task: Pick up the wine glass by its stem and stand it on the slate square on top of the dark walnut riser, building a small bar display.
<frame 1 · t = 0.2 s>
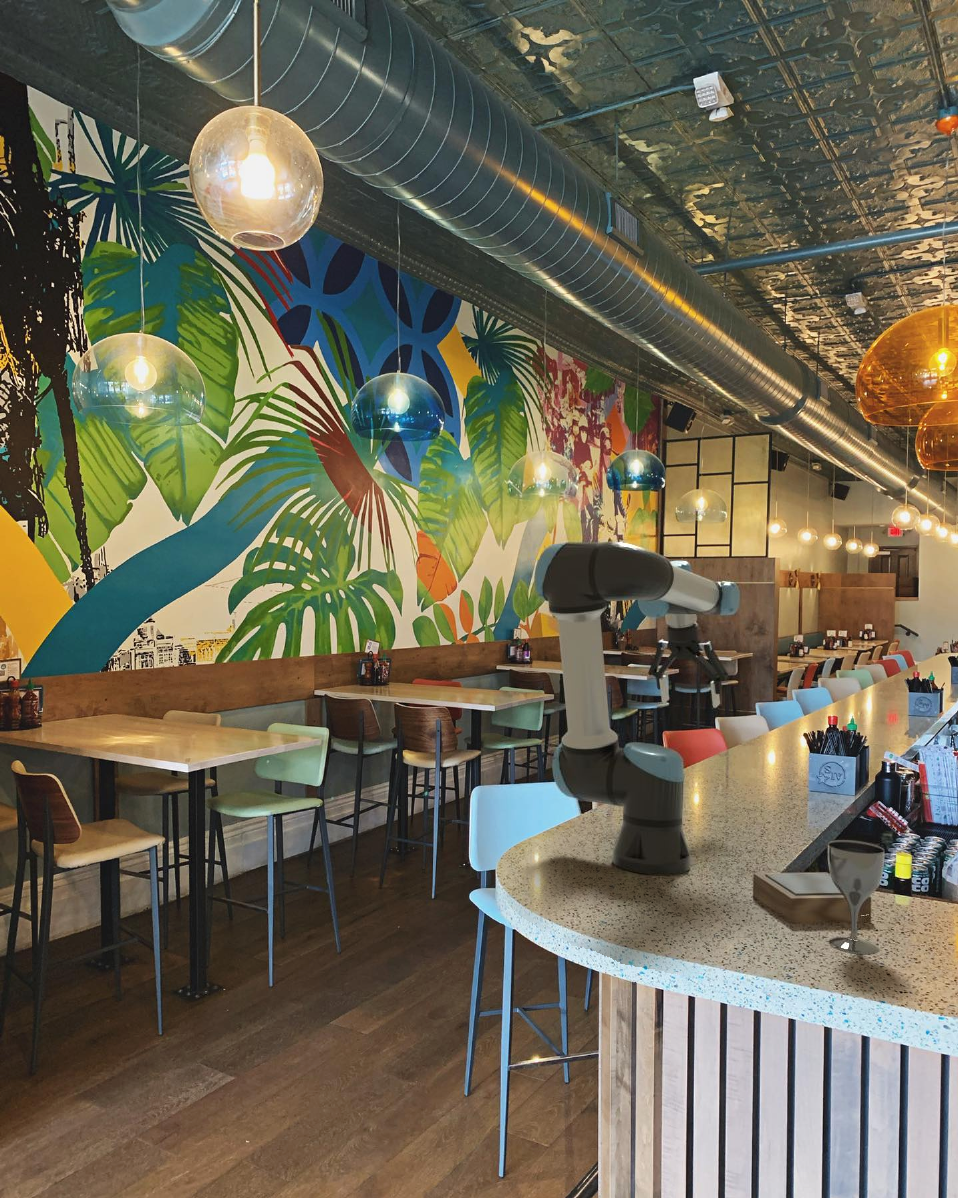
hand: (690, 703, 225), 28 cm above the countertop, tool tilted 20°, fingers open, 13 cm apart
wine glass: (853, 946, 136), on the countertop
riser: (809, 908, 153), on the countertop
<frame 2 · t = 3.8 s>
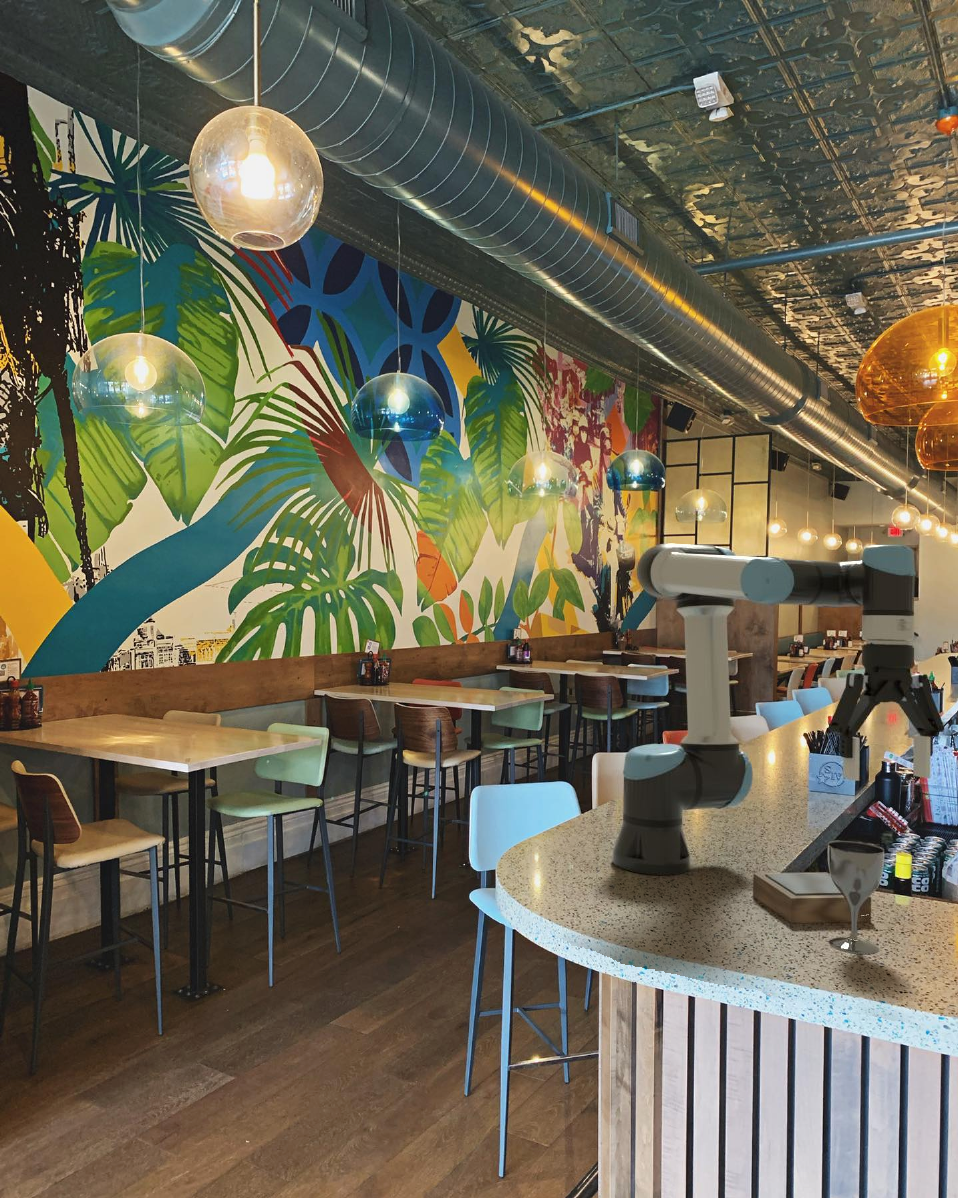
hand: (886, 778, 140), 25 cm above the countertop, tool pointing down, fingers open, 13 cm apart
nothing on the countertop moved.
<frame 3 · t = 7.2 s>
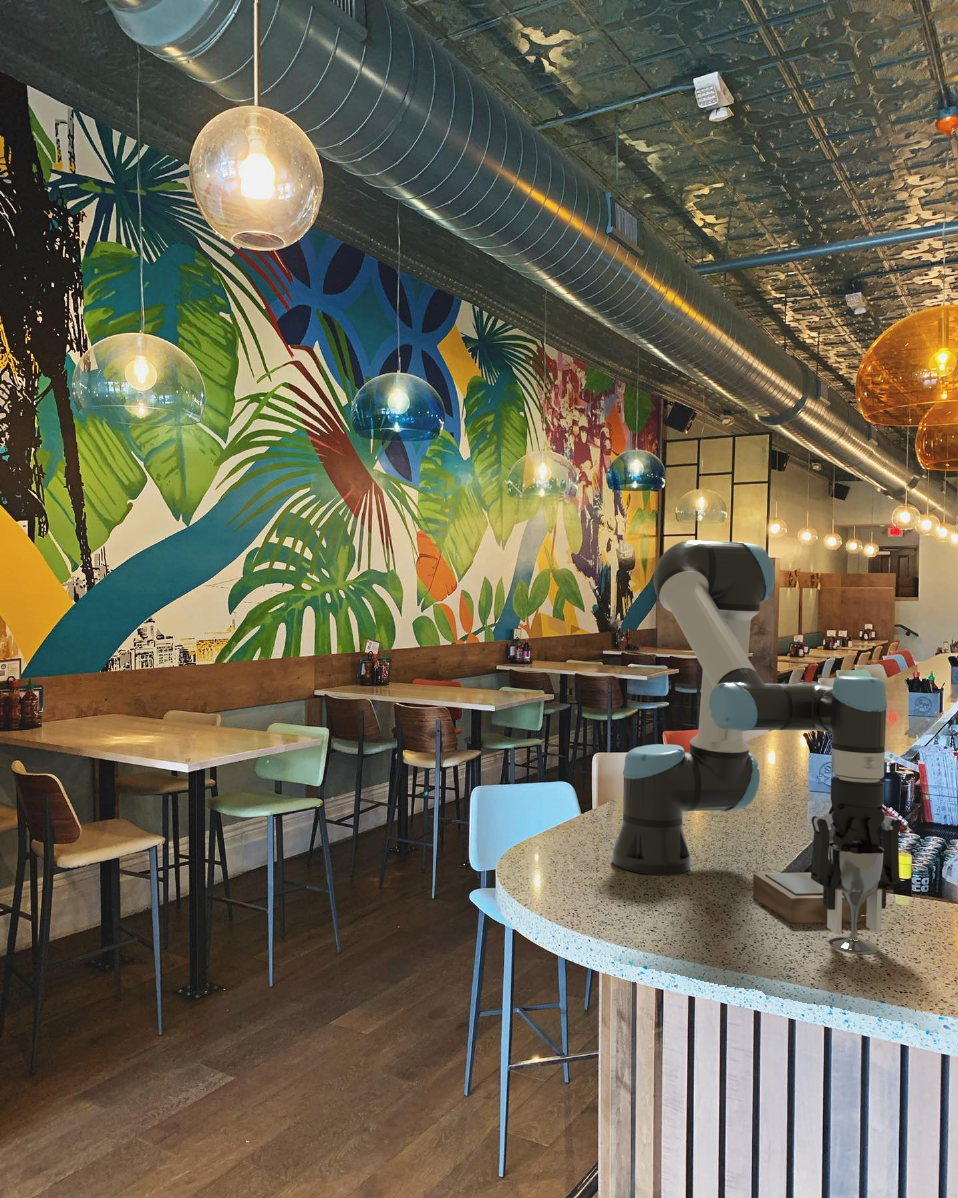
hand: (853, 929, 136), 2 cm above the countertop, tool pointing down, fingers closed on wine glass, 6 cm apart
wine glass: (853, 946, 136), on the countertop, touching gripper
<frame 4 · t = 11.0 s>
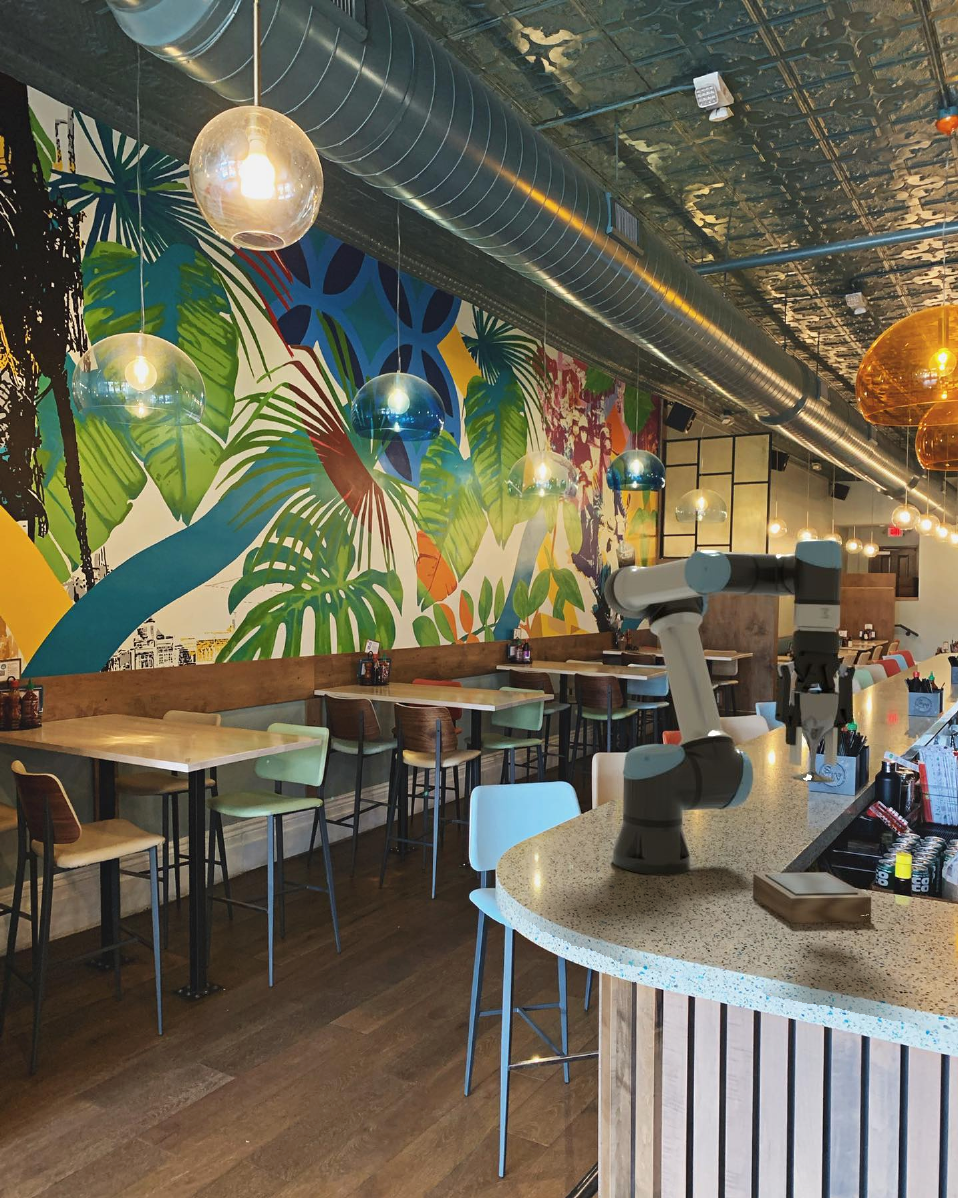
hand: (812, 764, 153), 25 cm above the countertop, tool pointing down, fingers closed on wine glass, 6 cm apart
wine glass: (812, 779, 153), point 22 cm above the countertop, touching gripper
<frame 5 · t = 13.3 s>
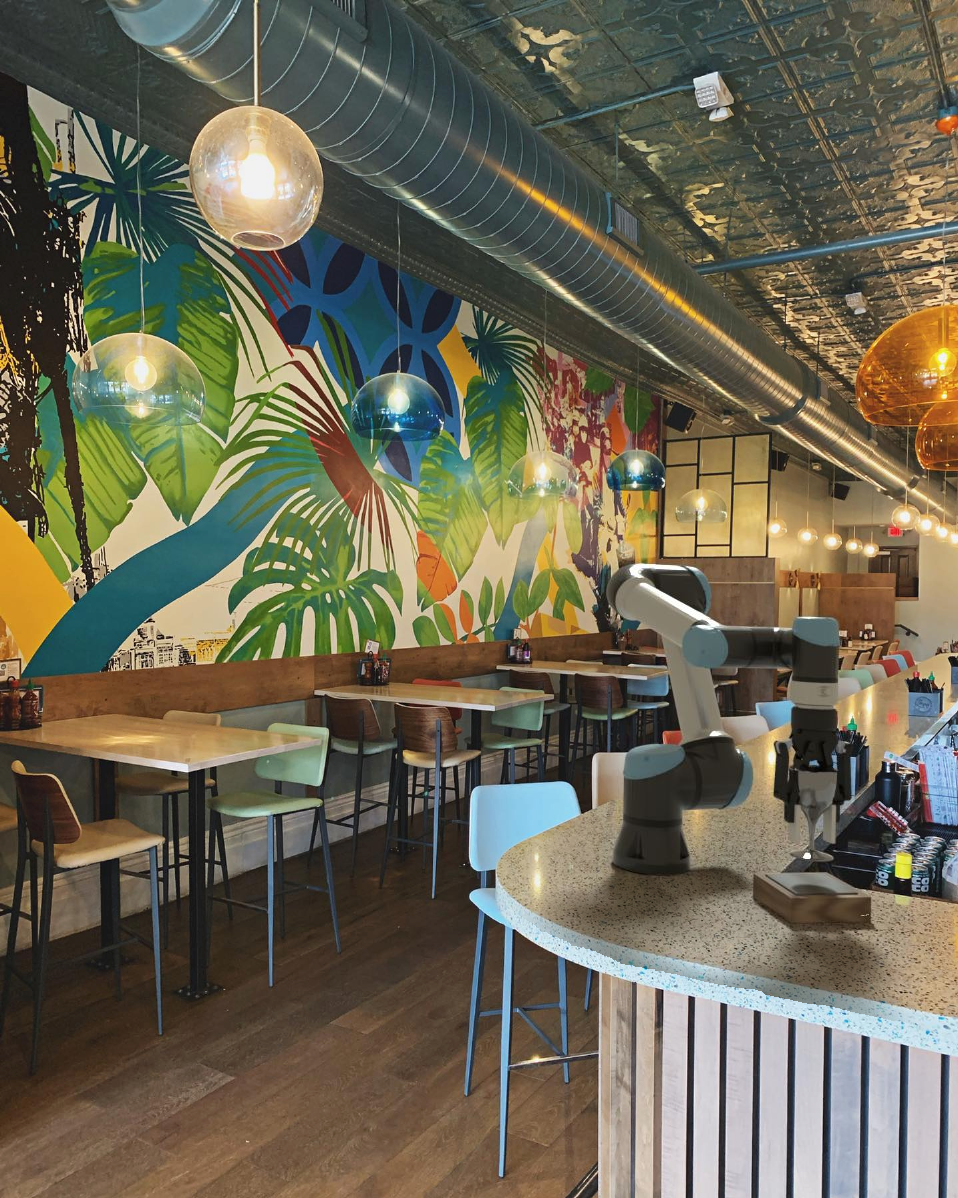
hand: (811, 841, 153), 11 cm above the countertop, tool pointing down, fingers closed on wine glass, 6 cm apart
wine glass: (811, 857, 153), point 9 cm above the countertop, touching gripper
when the fingers open (8 cm above the countertop, at t = 14.9 s): wine glass drops 1 cm, resting on riser.
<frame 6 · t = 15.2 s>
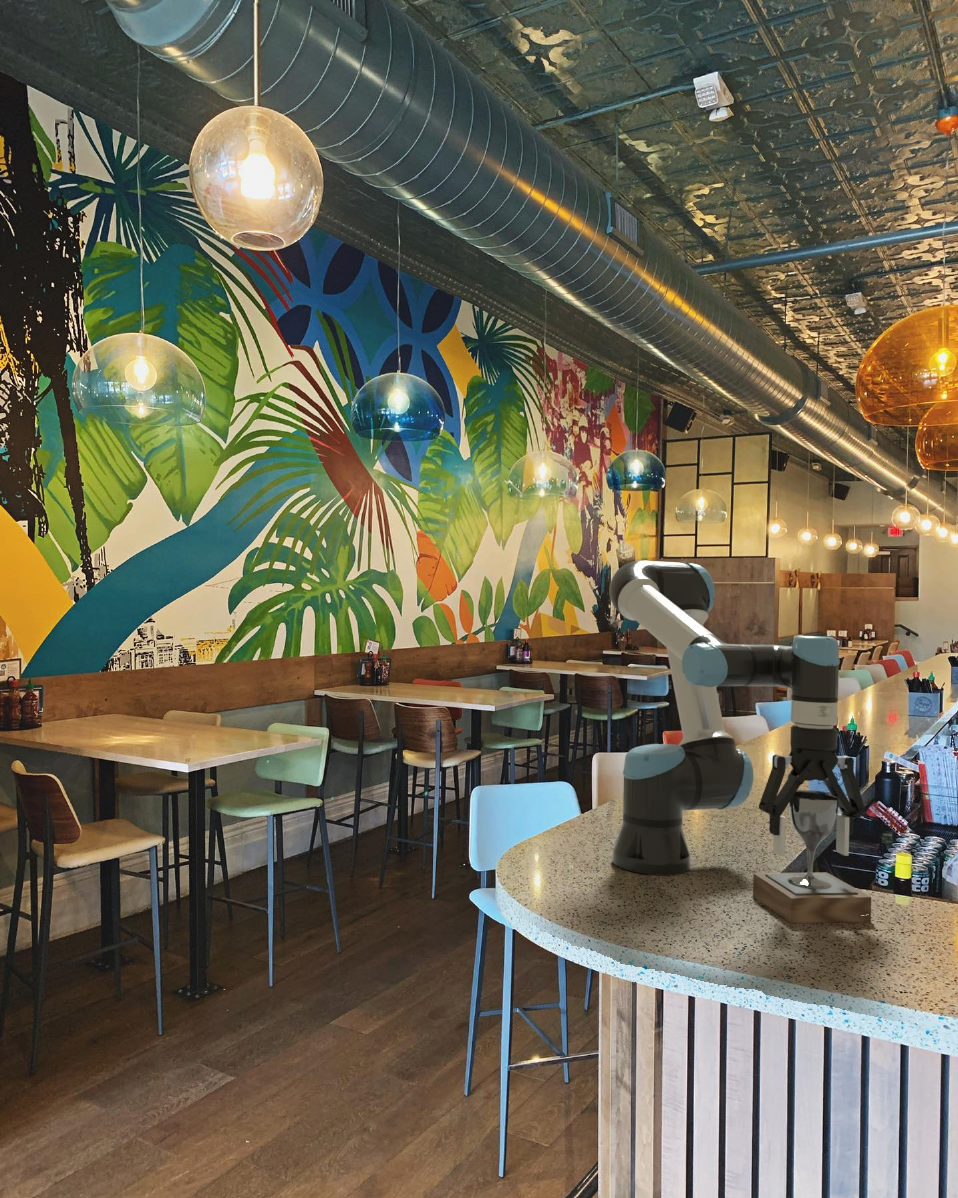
hand: (810, 854, 153), 9 cm above the countertop, tool pointing down, fingers open, 11 cm apart
wine glass: (809, 883, 153), point 4 cm above the countertop, touching riser
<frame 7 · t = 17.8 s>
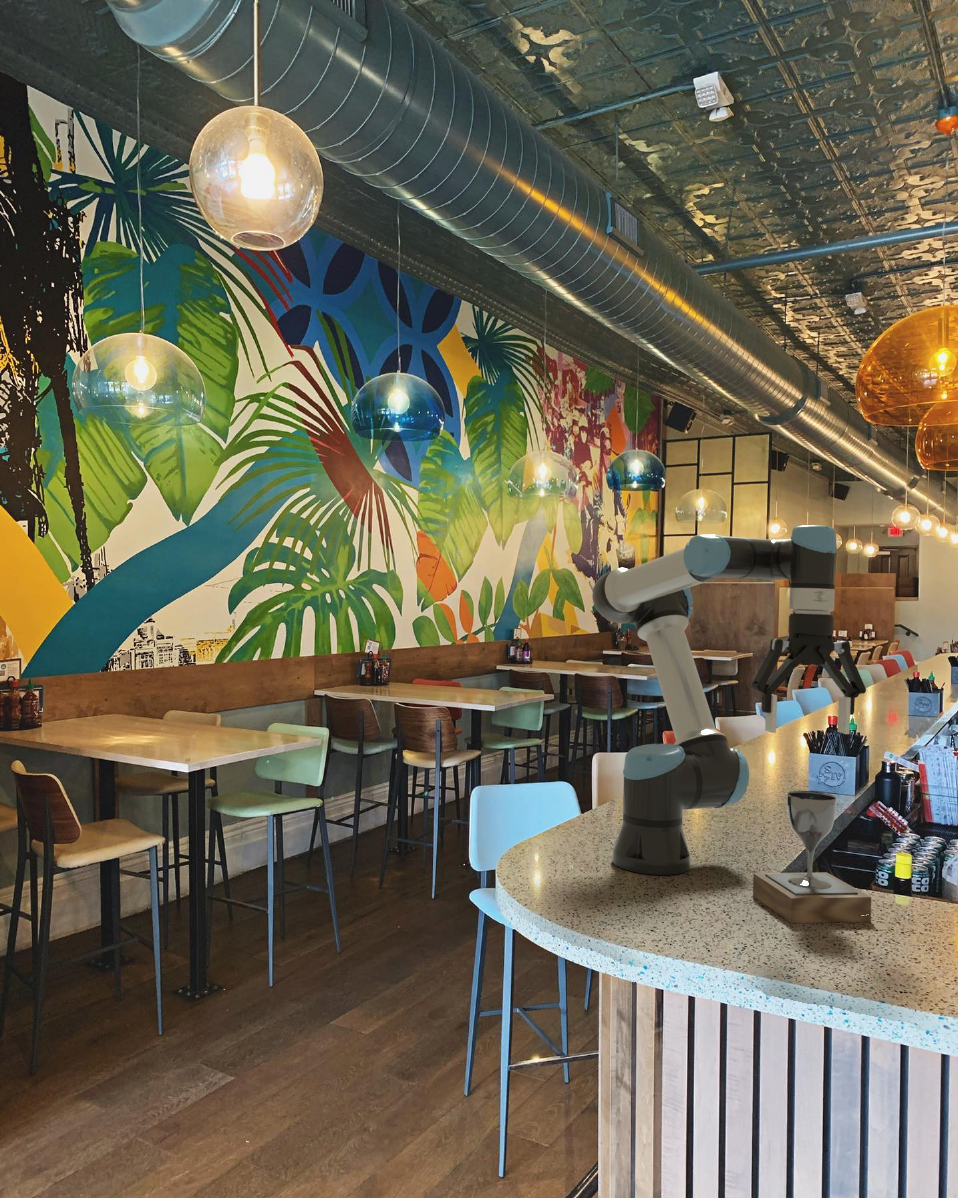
hand: (807, 732, 158), 29 cm above the countertop, tool pointing down, fingers open, 13 cm apart
nothing on the countertop moved.
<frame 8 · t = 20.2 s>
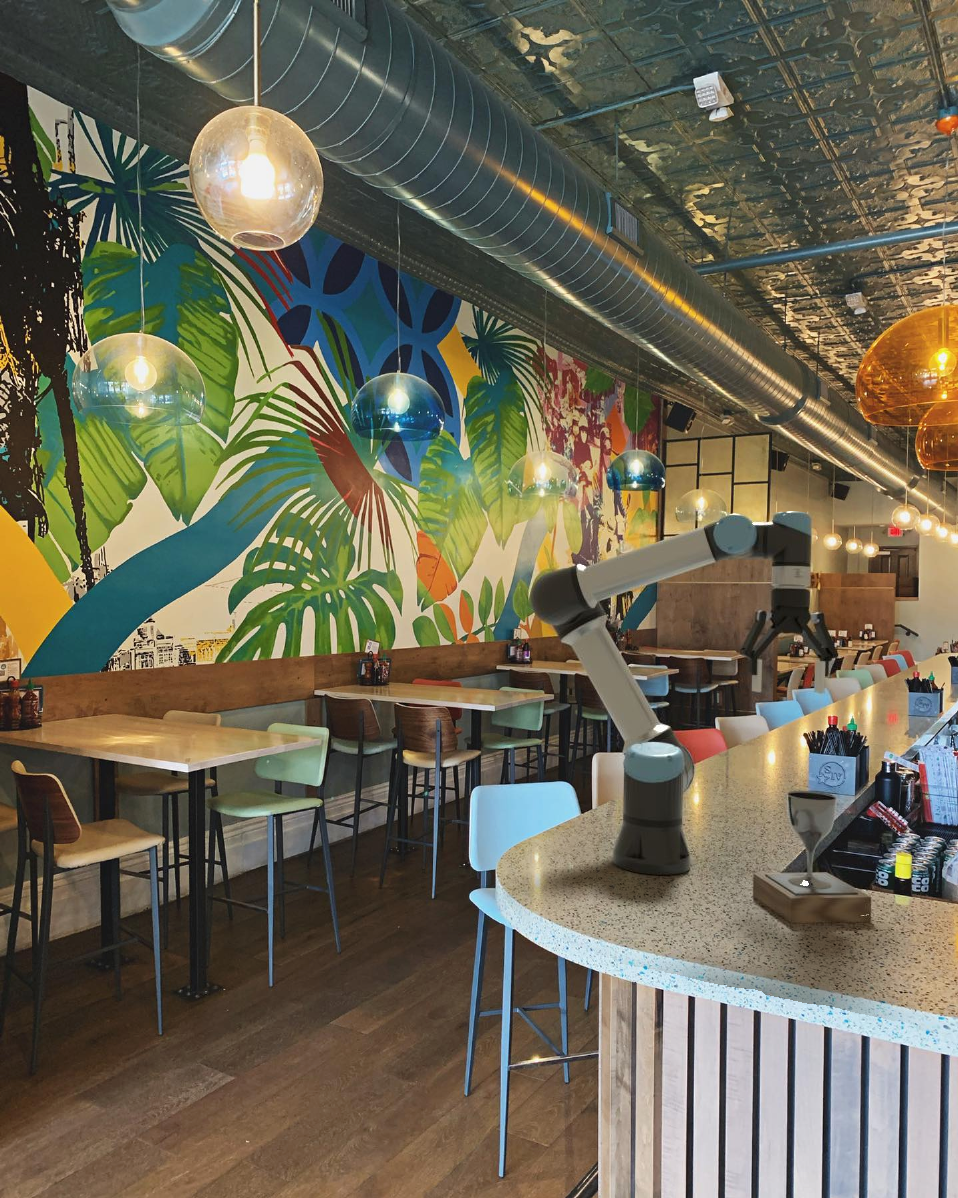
hand: (788, 692, 181), 35 cm above the countertop, tool pointing down, fingers open, 13 cm apart
nothing on the countertop moved.
at the end: wine glass inside the target area on the riser (0.1 cm from its centre), point 4.1 cm above the riser's base; wine glass tilted 0°; the gripper is holding nothing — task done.
